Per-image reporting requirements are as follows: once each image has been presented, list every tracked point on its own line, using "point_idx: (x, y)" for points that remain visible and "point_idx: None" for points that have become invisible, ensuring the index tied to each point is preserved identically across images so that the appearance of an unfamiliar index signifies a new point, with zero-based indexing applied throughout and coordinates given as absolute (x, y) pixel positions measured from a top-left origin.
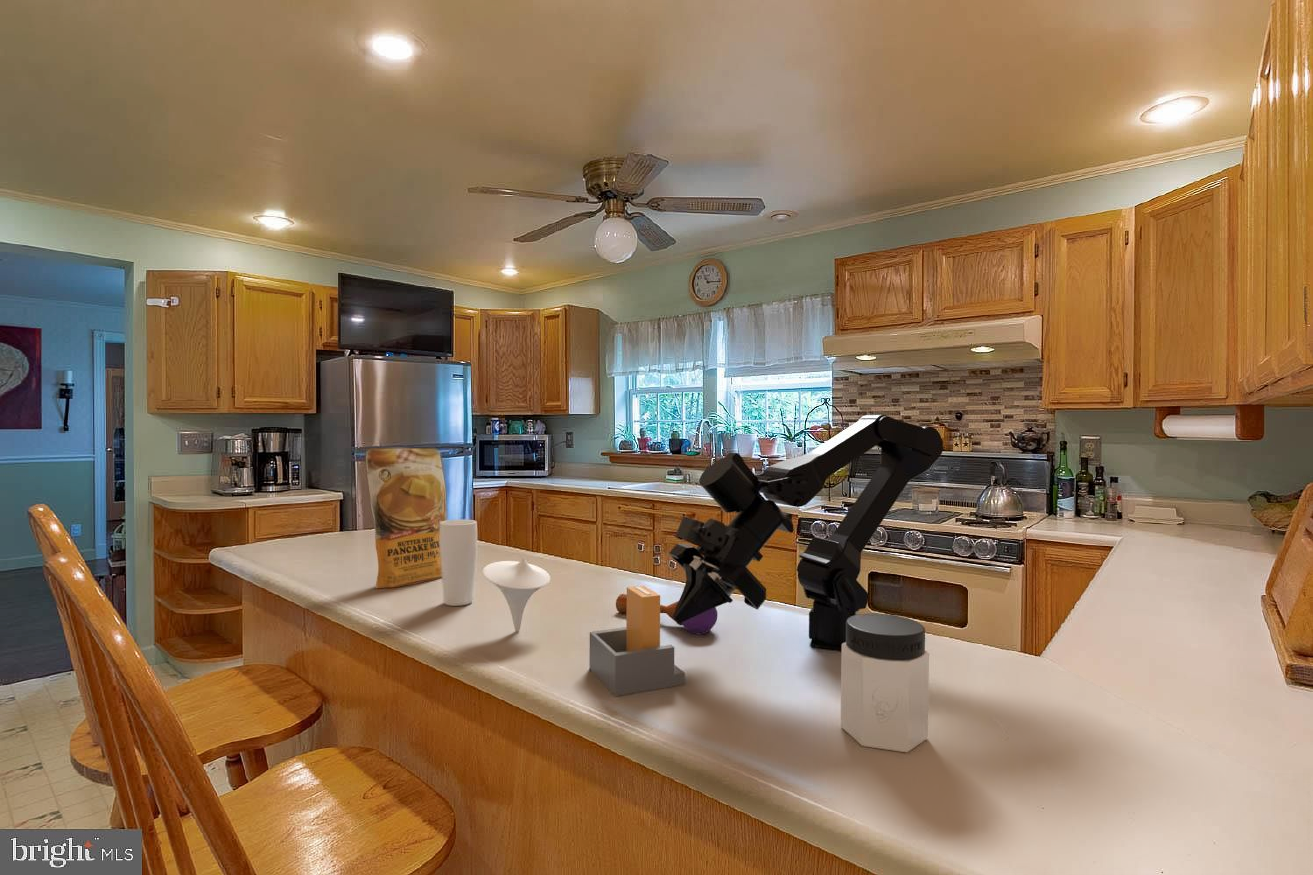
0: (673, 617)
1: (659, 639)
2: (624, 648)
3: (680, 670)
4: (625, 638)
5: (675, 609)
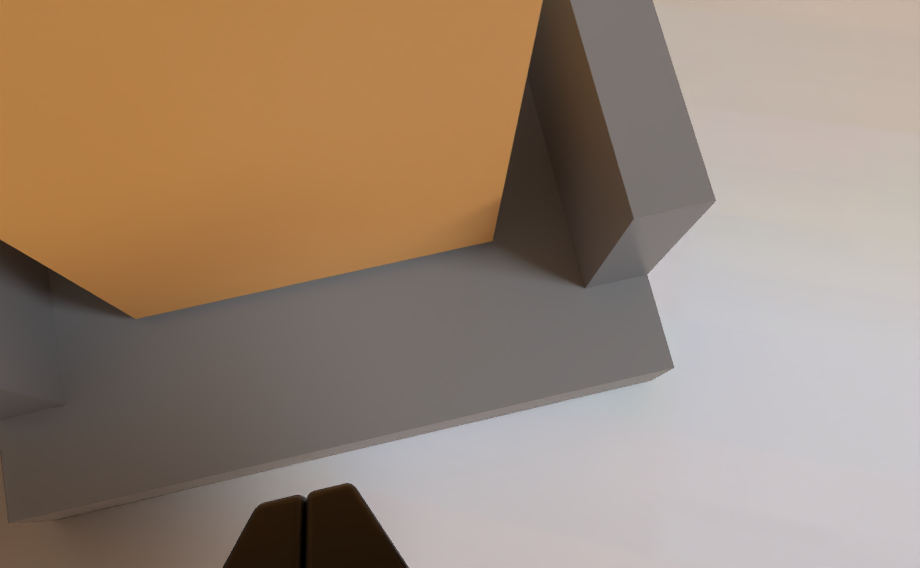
0: (315, 492)
1: (22, 245)
2: (538, 71)
3: (69, 495)
4: (550, 33)
5: (387, 550)
